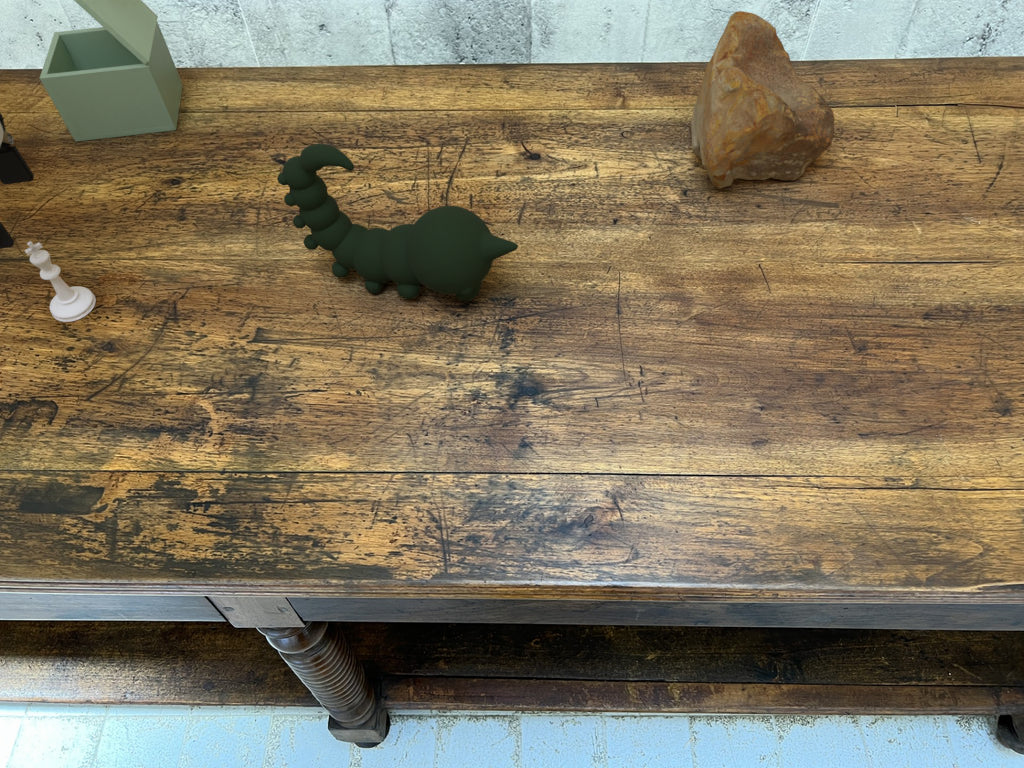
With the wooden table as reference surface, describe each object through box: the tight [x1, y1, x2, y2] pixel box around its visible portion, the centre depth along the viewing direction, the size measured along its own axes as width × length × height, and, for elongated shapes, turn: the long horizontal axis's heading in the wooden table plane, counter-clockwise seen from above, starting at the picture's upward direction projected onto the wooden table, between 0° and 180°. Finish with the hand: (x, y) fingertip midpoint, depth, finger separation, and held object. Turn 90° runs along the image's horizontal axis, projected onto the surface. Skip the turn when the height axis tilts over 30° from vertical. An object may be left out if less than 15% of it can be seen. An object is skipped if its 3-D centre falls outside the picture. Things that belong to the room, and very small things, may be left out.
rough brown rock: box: [690, 10, 835, 189], centre depth 100 cm, size 23×17×15 cm
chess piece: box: [24, 240, 97, 323], centre depth 90 cm, size 5×5×10 cm
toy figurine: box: [276, 143, 519, 302], centre depth 87 cm, size 9×19×25 cm
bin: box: [39, 21, 184, 143], centre depth 111 cm, size 14×11×10 cm
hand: (9, 212), depth 82 cm, fingers open, 9 cm apart
